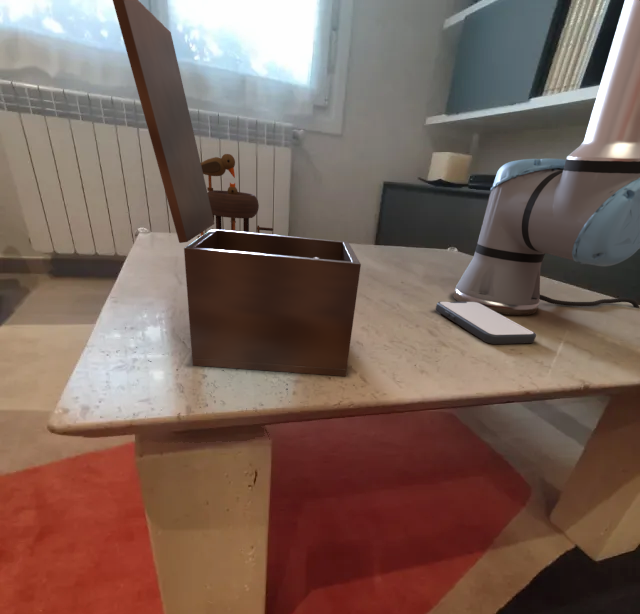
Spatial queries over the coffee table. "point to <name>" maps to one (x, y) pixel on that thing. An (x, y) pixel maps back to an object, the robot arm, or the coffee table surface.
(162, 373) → the coffee table surface
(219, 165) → the bird figurine
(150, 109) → the lid
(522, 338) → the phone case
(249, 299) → the chest
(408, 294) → the coffee table surface
